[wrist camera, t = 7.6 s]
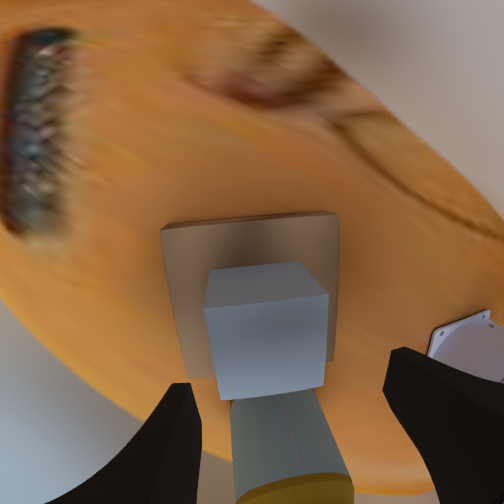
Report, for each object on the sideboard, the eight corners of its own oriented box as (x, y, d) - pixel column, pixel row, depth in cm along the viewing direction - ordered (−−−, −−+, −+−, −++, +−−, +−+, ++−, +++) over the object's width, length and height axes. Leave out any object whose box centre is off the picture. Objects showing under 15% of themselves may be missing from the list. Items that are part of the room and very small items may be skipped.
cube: (298, 260, 16) (328, 293, 11) (299, 336, 17) (323, 385, 12) (209, 269, 15) (203, 308, 11) (220, 345, 17) (220, 400, 12)
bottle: (224, 374, 20) (235, 568, 5) (315, 363, 20) (396, 531, 6) (234, 430, 21) (248, 578, 7) (310, 419, 22) (360, 556, 7)
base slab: (326, 210, 17) (338, 214, 15) (324, 345, 20) (333, 360, 18) (166, 224, 17) (159, 230, 15) (190, 361, 19) (188, 378, 17)
